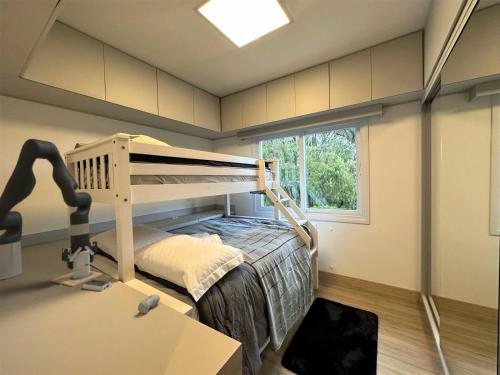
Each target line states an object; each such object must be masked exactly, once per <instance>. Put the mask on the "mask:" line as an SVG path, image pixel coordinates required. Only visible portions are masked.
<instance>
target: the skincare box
mask: <svg viewBox="0 0 500 375" xmlns="http://www.w3.org/2000/svg"><path fill="white" fill-rule="evenodd" d="M73 254H74V253H73ZM72 261H73V269H72V270H73V271H72V273H73V278H79V277H84V276H88V275H89V273H90V271H91V263H90V253H89V250H88V251H83V252H80V253H79V254H77V255H76V257H74V259H73V260H72Z"/></svg>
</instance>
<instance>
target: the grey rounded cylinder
mask: <svg viewBox="0 0 500 375" xmlns="http://www.w3.org/2000/svg"><path fill="white" fill-rule="evenodd" d="M160 301H161V296H160V295H159V294H156V293H155V294H151V295H149V296H148V297H146V298H145V299H144V300H141V301H140V302H139V303H138V306H137V310H138V312H139V313H140V314H147V313H148V311H149V310H150V308H154V307H155V306H156V305H157V304H159V302H160Z"/></svg>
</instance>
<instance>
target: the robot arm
mask: <svg viewBox="0 0 500 375" xmlns="http://www.w3.org/2000/svg"><path fill="white" fill-rule="evenodd" d="M37 159H39V160H47V162H48V163H50V164H51V166H52V180H53V182H54V183H55V185H57V187H58V188H59V190H60V193H61V196H62V199H63V202H64V203H65V205H67V207H70V208H77V209H76V210H75V211H73V212H71V213H70V215H69V223H70V224H69V244H70V246H69V247H63V248H62V249H61V262H64V263H65V262H66V263H67V264H66V265H67V269H68V270H73V259H74V257H76V255H77V254H79V253H80V252H83V251H88V250H89V253H90V264H92V263H93V262H94V261H95V258H94V257H95V254H97V253H98V252H99V250H98V248H99V247H98V241H96V240H92V241H91V235H90V234H91V233H90V232H91V231H90V223H89V222H90V220H89V218H90V217H89V213H90V211H91V207H92V203H93V198H92V197H91V194H90V193H88V192H85V191H82V192H81V191H80V192H79V191H78V192H77V189H78V188H79V184H78V182H77V181H76V179H75V178H74V176H73V175H72V174H71V173H70V171H69V169H68V168H67V166H66V164H65V161H64V159H63V157H62V155H61V153H60V151H59V149H58V147H57V146H56V144H55V143H54V142H51V141H47V140H44V139H43V140H42V139H37V138H29V139H26V141H24V143H23V144H22V147H21V149H20V152H19V155H18V159H17V161H16V164H15V166H14V168H13V171H12V173H11V175H10V177H9V178H8V180H7V182H6V184H5V187H4V189H3V191H2V193H1V195H0V232H1V231H4V233H2V234H1V235H0V280H5V279H6V280H7V279H10V278H14V277H17V276H19V275H21V274H23V269H22V267H23V265H22V246H21V245H22V244H21V242H22V241H21V239H22V238H21V237H22V235H23V216H22V214H21V213H20V212H19V211H17V210H12V209H13V208H14V207H15V206H17V205H18V204H20V203H22V202H23V201H24V200H25V199H27V198H28V197H29V196H30V195H31V194H32V193H33V191H34V189H35V186H36V184H37V179H36V178H37V177H36V176H35V174H34V170H33V167H34V164H35V162H36V161H37ZM90 241H91V242H90ZM90 247H91V248H90ZM73 253H74V254H73Z"/></svg>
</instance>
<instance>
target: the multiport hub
mask: <svg viewBox="0 0 500 375" xmlns="http://www.w3.org/2000/svg"><path fill="white" fill-rule="evenodd" d="M82 284H83V285H82V287H83V290H90V291H97V292H103V290H104V291H106V290H107V289H109V288H111V287H112V282H111V281H107V280H106V281H105V280H98V279H90V280H88V281H86V282H84V283H82ZM105 289H106V290H105Z"/></svg>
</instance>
